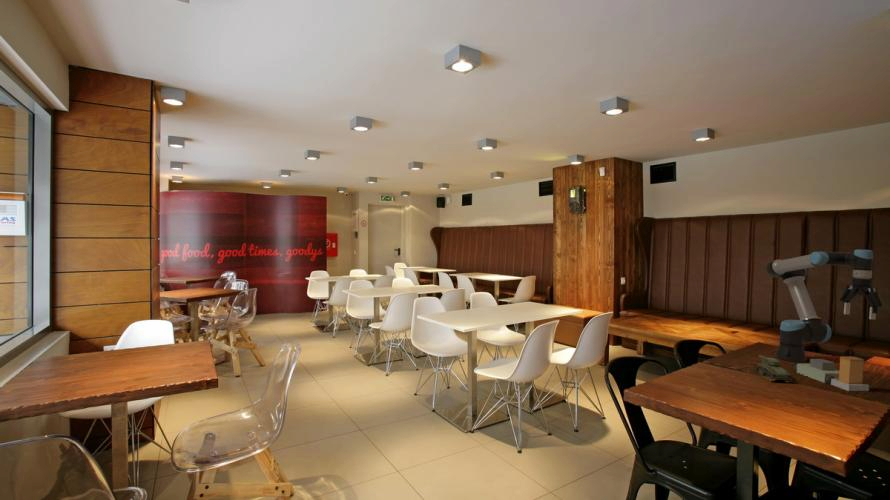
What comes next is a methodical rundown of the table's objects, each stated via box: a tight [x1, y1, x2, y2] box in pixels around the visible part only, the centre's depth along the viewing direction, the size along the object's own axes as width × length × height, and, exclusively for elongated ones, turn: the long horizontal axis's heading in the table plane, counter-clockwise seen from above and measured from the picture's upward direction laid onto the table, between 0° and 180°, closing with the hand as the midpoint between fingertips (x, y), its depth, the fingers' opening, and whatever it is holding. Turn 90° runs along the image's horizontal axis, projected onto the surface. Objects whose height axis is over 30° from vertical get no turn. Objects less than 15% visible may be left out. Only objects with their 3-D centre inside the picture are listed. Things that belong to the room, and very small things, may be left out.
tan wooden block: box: [838, 356, 865, 384], centre depth 215 cm, size 5×7×15 cm
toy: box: [755, 354, 793, 383], centre depth 228 cm, size 10×18×10 cm, turn 175°
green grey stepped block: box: [793, 358, 870, 392], centre depth 225 cm, size 29×13×9 cm, turn 4°
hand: (859, 316), depth 236 cm, fingers open, 13 cm apart
